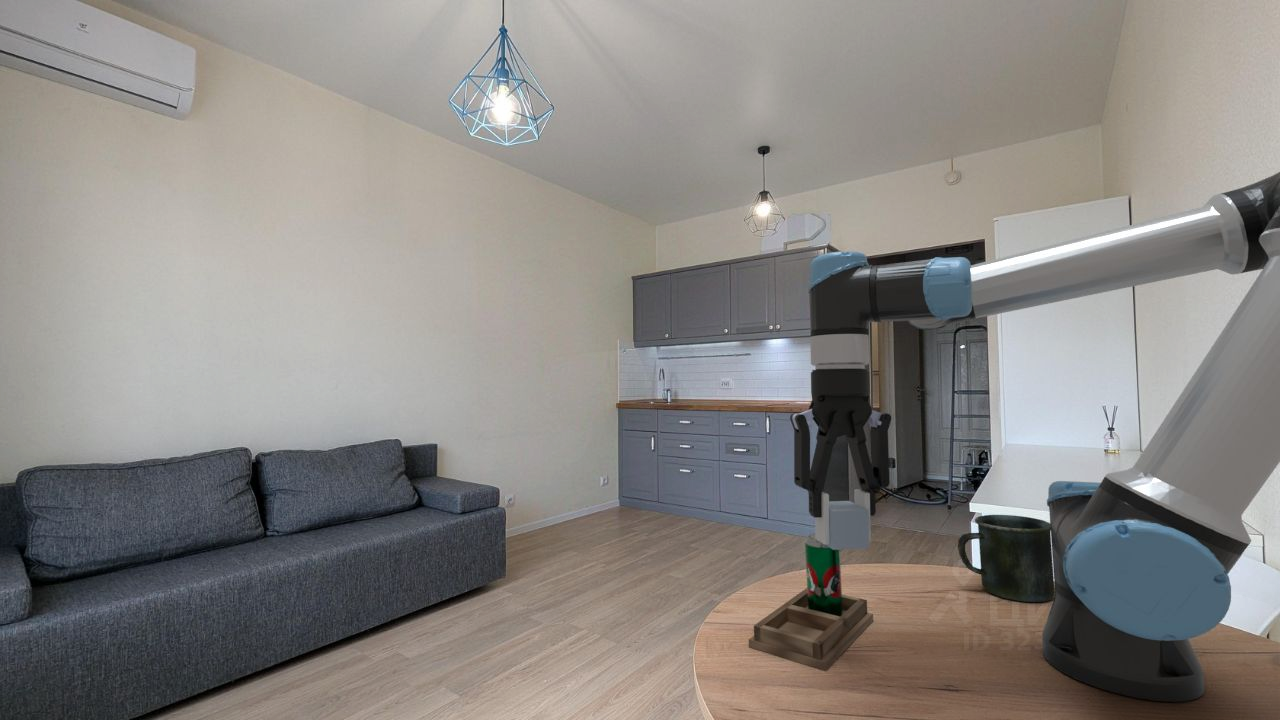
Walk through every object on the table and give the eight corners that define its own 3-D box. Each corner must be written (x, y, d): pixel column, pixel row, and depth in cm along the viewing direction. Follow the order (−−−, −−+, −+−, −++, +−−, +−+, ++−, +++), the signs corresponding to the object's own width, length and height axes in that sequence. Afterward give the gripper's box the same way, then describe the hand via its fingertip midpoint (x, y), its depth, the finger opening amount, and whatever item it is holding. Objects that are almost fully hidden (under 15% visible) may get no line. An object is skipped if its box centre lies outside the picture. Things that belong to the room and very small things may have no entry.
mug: (1074, 605, 88) (1068, 529, 88) (976, 603, 90) (971, 529, 90) (1034, 582, 98) (1030, 514, 99) (948, 580, 100) (944, 514, 101)
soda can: (845, 612, 85) (841, 534, 85) (840, 625, 80) (836, 542, 81) (812, 607, 87) (808, 531, 88) (805, 619, 83) (801, 539, 83)
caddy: (873, 620, 84) (872, 600, 84) (825, 670, 70) (824, 646, 70) (804, 604, 91) (804, 585, 91) (748, 646, 77) (748, 624, 77)
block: (869, 548, 72) (868, 509, 72) (833, 549, 71) (833, 511, 71) (849, 536, 77) (848, 500, 77) (815, 538, 76) (815, 502, 76)
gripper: (886, 368, 79) (889, 530, 78) (766, 368, 77) (768, 535, 76) (918, 366, 72) (922, 546, 71) (786, 366, 70) (789, 551, 69)
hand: (842, 540), depth 73 cm, fingers closed on block, 5 cm apart
